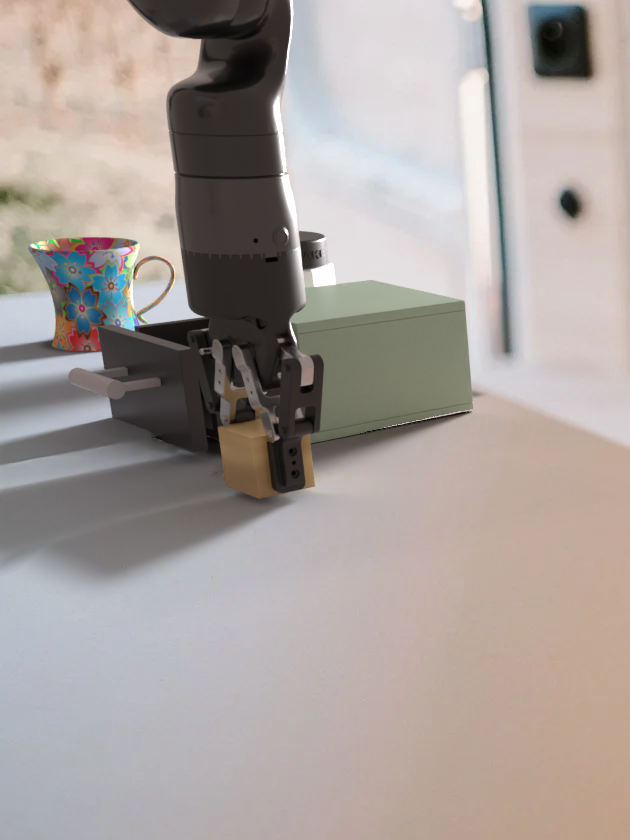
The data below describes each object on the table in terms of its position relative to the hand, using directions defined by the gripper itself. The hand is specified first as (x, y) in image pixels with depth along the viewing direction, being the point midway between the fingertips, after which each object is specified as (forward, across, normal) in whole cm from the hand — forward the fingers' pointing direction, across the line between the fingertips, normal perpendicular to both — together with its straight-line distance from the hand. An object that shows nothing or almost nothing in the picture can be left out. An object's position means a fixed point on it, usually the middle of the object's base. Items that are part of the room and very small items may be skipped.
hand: (270, 482), depth 116 cm
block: (0, 0, 0) cm, 0 cm away
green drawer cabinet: (+1, -17, +17) cm, 24 cm away
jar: (+1, -37, +24) cm, 44 cm away
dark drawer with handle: (0, -17, +5) cm, 18 cm away
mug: (+1, -51, +14) cm, 53 cm away
